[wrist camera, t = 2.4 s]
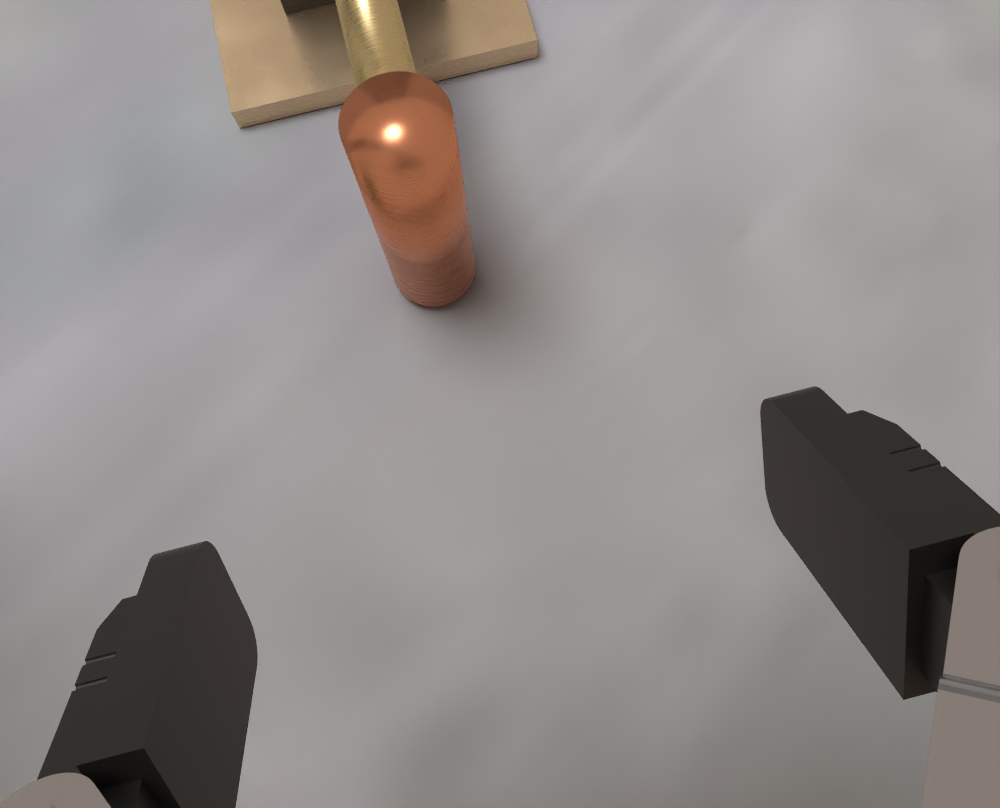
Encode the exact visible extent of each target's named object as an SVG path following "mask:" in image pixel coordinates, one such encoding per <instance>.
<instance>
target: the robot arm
mask: <svg viewBox="0 0 1000 808" xmlns="http://www.w3.org/2000/svg"><path fill="white" fill-rule="evenodd" d="M760 414H761V431H762V446H763V461H764V476H765V489H766V495H767V500H768V503H769V507H770V510H771V513H772V515H773V518H774V520H775V522H776V524H777V526H778V527H779V529H780V530H781V532H782V533H783V535H784V536H785V537H786V539H787V540H788V542H789V543H790V544H791V546H792V547H793V548H794V550H795V551H796V553H797V554H798V555H799V557H800V558H801V559H802V561H803V562H804V564H805V565H806V566H807V568H808V569H809V570H810V572H811V573H812V575H813V576H814V577H815V579H816V580H817V581H818V583H819V584H820V586H821V587H822V588H823V590H824V591H825V592H826V594H827V595H828V597H829V598H830V599H831V601H832V602H833V603H834V605H835V606H836V608H837V609H838V610H839V612H840V613H841V614H842V616H843V617H844V619H845V620H846V621H847V623H848V624H849V625H850V627H851V628H852V630H853V631H854V632H855V634H856V635H857V636H858V638H859V639H860V641H861V642H862V643H863V645H864V646H865V647H866V649H867V650H868V652H869V653H870V654H871V656H872V657H873V658H874V660H875V661H876V663H877V664H878V665H879V667H880V668H881V669H882V671H883V672H884V674H885V675H886V676H887V678H888V679H889V680H890V682H891V683H892V685H893V686H894V687H895V689H896V690H897V691H898V693H899V694H900V696H901V697H902V698H903V700H905V699H908V698H912V697H916V696H920V695H923V694H927V693H931V692H935V691H936V692H937V699H936V706H935V713H934V720H933V728H932V735H931V742H930V749H929V756H928V763H927V771H926V778H925V785H924V792H923V799H922V807H921V808H1000V514H999V513H998V512H997V511H995V510H994V509H993V508H992V507H991V506H990V505H989V504H987V503H986V502H985V501H984V500H983V499H982V498H981V497H979V496H978V495H977V494H976V493H975V492H974V491H973V490H971V489H970V488H969V487H968V486H967V485H966V484H965V483H963V482H962V481H961V480H960V479H959V478H958V477H957V476H955V475H954V474H953V473H952V472H951V471H950V470H949V469H947V468H946V467H945V466H944V467H941V465H940V462H939V461H938V460H937V459H936V458H935V457H934V456H933V455H931V454H930V453H929V452H928V451H927V450H926V449H923V450H922V449H921V445H920V444H919V443H918V442H917V441H915V440H914V439H913V438H912V437H911V436H910V435H909V434H907V433H906V432H905V431H904V430H903V429H902V428H901V427H899V426H898V425H897V424H895V423H892V422H890V421H888V420H885V419H883V418H880V417H878V416H875V415H873V414H871V413H868V412H866V411H863V410H861V411H857V412H853V413H849V414H847V413H846V412H845V411H844V410H843V409H842V408H841V407H840V406H839V405H838V404H837V403H835V402H834V401H833V400H832V399H831V398H830V397H829V396H828V395H827V394H826V393H825V392H824V391H823V390H821V389H820V388H818V387H810V388H806V389H802V390H799V391H795V392H791V393H787V394H783V395H779V396H775V397H771V398H767V399H764V400H763V402H762V404H761V411H760ZM85 661H86V665H84V666H82V668H81V671H80V673H79V676H78V678H77V681H76V683H75V686H76V691H72V693H71V696H70V698H69V701H68V703H67V706H66V708H65V711H64V713H63V716H62V718H61V721H60V723H59V726H58V728H57V731H56V734H55V736H54V739H53V741H52V744H51V746H50V749H49V751H48V754H47V756H46V759H45V761H44V764H43V766H42V769H41V771H40V774H39V776H38V779H37V780H36V781H34V782H32V783H30V784H28V785H26V786H24V787H23V788H21V789H19V790H18V791H16V792H15V793H13V794H12V795H10V796H9V797H8V798H7V799H5V800H4V801H3V802H1V803H0V808H235V806H236V800H237V793H238V787H239V780H240V774H241V767H242V761H243V754H244V747H245V741H246V734H247V728H248V721H249V715H250V708H251V702H252V695H253V688H254V682H255V675H256V669H257V645H256V639H255V634H254V630H253V627H252V624H251V621H250V619H249V617H248V615H247V612H246V610H245V608H244V606H243V604H242V602H241V600H240V598H239V596H238V594H237V591H236V589H235V587H234V585H233V583H232V581H231V579H230V577H229V575H228V572H227V570H226V568H225V566H224V564H223V562H222V560H221V558H220V556H219V554H218V552H217V550H216V548H215V547H214V546H213V545H212V544H211V543H210V542H208V541H204V542H201V543H197V544H193V545H189V546H185V547H181V548H177V549H173V550H169V551H165V552H162V553H158V554H155V555H153V556H152V557H151V558H150V561H149V563H148V566H147V568H146V571H145V574H144V577H143V580H142V582H141V585H140V588H139V591H138V594H137V596H133V597H129V598H125V599H122V600H121V601H120V603H119V604H118V605H117V606H116V607H115V609H114V610H113V611H112V612H111V613H110V615H109V616H108V617H107V618H106V619H105V621H104V622H103V623H102V624H101V625H100V626H99V628H98V629H97V631H96V633H95V636H94V638H93V641H92V643H91V646H90V648H89V651H88V653H87V656H86V658H85Z"/></svg>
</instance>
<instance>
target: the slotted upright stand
mask: <svg viewBox="0 0 1000 808" xmlns="http://www.w3.org/2000/svg"><path fill="white" fill-rule="evenodd" d="M210 2H211V8H212V13H213V18H214V24H215V29H216V34H217V39H218V45H219V50H220V55H221V61H222V66H223V71H224V77H225V82H226V87H227V93H228V98H229V103H230V109H231V113H232V115H233V117H234V118H235V120H236V122H237V124H238V125H239V127H240V128H242V127H247V126H251V125H255V124H259V123H263V122H268V121H272V120H276V119H280V118H284V117H288V116H293V115H297V114H301V113H305V112H309V111H314V110H318V109H322V108H326V107H330V106H335V105H339V104H343V103H344V102H345V100H346V99H347V97H348V96H349V94H350V93H351V92H352V91H353V90H354V89H355V88H356V86H355V81H354V77H353V73H352V69H351V65H350V60H349V56H348V52H347V48H346V44H345V39H344V35H343V31H342V27H341V23H340V18H339V14H338V10H337V6H336V2H335V0H210ZM397 2H398V5H399V9H400V13H401V17H402V21H403V24H404V28H405V32H406V36H407V40H408V43H409V47H410V51H411V55H412V59H413V63H414V66H415V70H416V74H419V75H422V76H424V77H427V78H428V79H430V80H432V81H433V82H435V81H439V80H444V79H448V78H452V77H456V76H460V75H465V74H469V73H473V72H477V71H481V70H486V69H490V68H494V67H498V66H502V65H506V64H511V63H515V62H519V61H523V60H527V59H532V58H536V57H538V39H537V36H536V32H535V29H534V26H533V23H532V20H531V16H530V13H529V10H528V7H527V4H526V1H525V0H397Z"/></svg>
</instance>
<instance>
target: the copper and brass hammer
mask: <svg viewBox="0 0 1000 808" xmlns="http://www.w3.org/2000/svg"><path fill="white" fill-rule="evenodd" d="M335 2H336V6H337V10H338V14H339V18H340V23H341V27H342V31H343V35H344V39H345V44H346V48H347V52H348V56H349V60H350V65H351V69H352V73H353V77H354V81H355V86H356V88H355V89H354V90H353V91H352V92H351V93H350V94H349V96H348V97H347V99H346V100H345V102H344V104H343V106H342V108H341V111H340V115H339V134H340V137H341V140H342V143H343V146H344V148H345V151H346V154H347V156H348V159H349V162H350V164H351V167H352V169H353V172H354V175H355V177H356V180H357V183H358V185H359V188H360V191H361V193H362V196H363V198H364V201H365V204H366V206H367V209H368V212H369V214H370V217H371V219H372V222H373V225H374V227H375V230H376V233H377V235H378V238H379V241H380V243H381V246H382V248H383V251H384V254H385V256H386V259H387V262H388V264H389V267H390V270H391V272H392V275H393V277H394V280H395V283H396V285H397V287H398V288H399V290H400V291H401V293H402V294H403V295H404V296H405V297H407V298H408V299H409V300H411V301H413V302H415V303H417V304H420V305H424V306H442V305H446V304H449V303H451V302H453V301H455V300H457V299H458V298H460V297H461V296H462V295H463V294H464V293H465V292H466V291H467V290H468V288H469V287H470V285H471V283H472V281H473V279H474V275H475V268H476V267H475V257H474V251H473V244H472V237H471V231H470V224H469V217H468V210H467V204H466V197H465V190H464V184H463V177H462V170H461V164H460V157H459V150H458V143H457V137H456V130H455V123H454V117H453V111H452V106H451V103H450V101H449V99H448V97H447V95H446V94H445V92H444V91H443V90H442V89H441V88H440V87H439V86H438V85H437V84H436V83H435V82H433V81H432V80H430V79H428V78H427V77H424V76H422V75H419V74H416V70H415V66H414V63H413V59H412V55H411V51H410V47H409V43H408V40H407V36H406V32H405V28H404V24H403V21H402V17H401V13H400V9H399V5H398V2H397V0H335Z"/></svg>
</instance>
